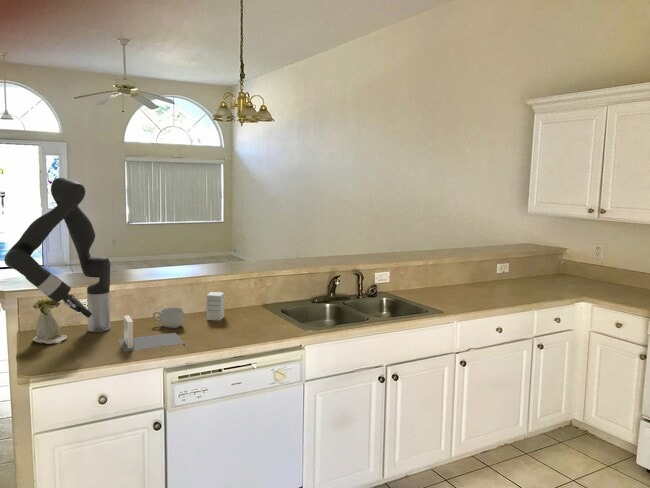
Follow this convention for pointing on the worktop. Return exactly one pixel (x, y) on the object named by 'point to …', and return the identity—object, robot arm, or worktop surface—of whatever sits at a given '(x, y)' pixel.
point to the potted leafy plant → (47, 323)
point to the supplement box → (215, 306)
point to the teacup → (170, 317)
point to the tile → (128, 331)
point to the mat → (153, 341)
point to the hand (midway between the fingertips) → (90, 315)
